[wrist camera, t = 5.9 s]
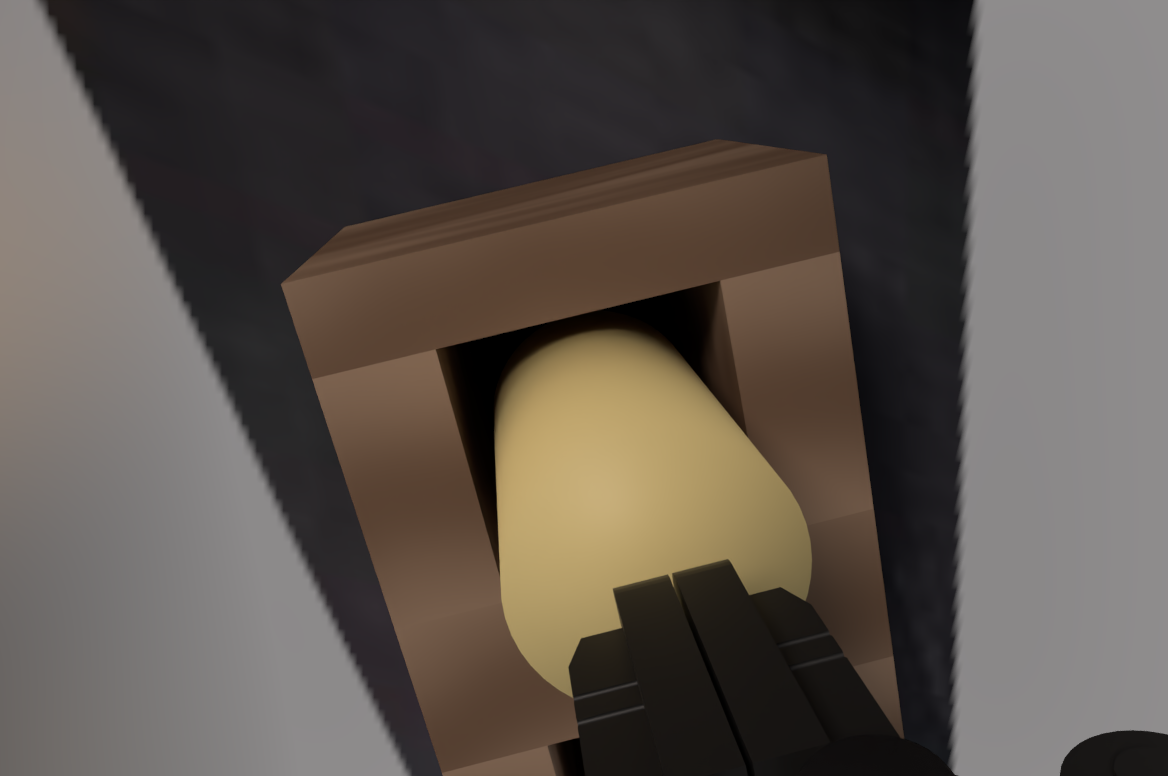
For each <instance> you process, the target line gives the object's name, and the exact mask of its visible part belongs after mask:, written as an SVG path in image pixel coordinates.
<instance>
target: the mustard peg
mask: <svg viewBox="0 0 1168 776" xmlns="http://www.w3.org/2000/svg"><path fill="white" fill-rule="evenodd" d="M493 418H494V442H495V465H496V489H497V512H498V536H499V559H500V582H501V600H502V605H503V610H504V615H505V619H506V622H507V625H508V627H509V630H510V633H511V636H512V637H513V639H514V641H515V643H516V645H517V647H518V648H519V650H520V652H521V653H522V655H523V656H524V657H525V659H526V660H527V661H528V663H529V664H530V665H531V666H532V667H533V668H534V669H535V670H536V671H537V672H538V673H539V674H540V675H541V676H542V677H543V678H544V679H545V680H546V681H547V682H549V683H550V684H551V685H553V686H554V687H555V688H557V689H558V690H560V691H561V692H563V693H565V694H567V695H568V696H570V697H572V698H573V695H572V688H571V682H570V675H569V669H568V667H569V664H570V662H571V660H572V658H573V655H574V653H575V651H576V648H577V646H578V644H579V642H580V639H581V638H584V637H588V636H592V635H596V634H600V633H604V632H608V631H611V630H615V629H619V628H622V627H621V623H620V619H619V615H618V611H617V606H616V602H615V598H614V593H613V588H616V587H620V586H624V585H628V584H632V583H636V582H640V581H644V580H647V579H651V578H655V577H659V576H663V575H667V574H668V575H669V577H670V579H671V582H672V584H673V579H672V573H674V572H678V571H682V570H686V569H690V568H694V567H698V566H702V565H706V564H710V563H714V562H718V561H722V560H726V559H729V560H730V562H731V563H732V565H733V567H734V569H735V571H736V572H737V574H738V576H739V578H740V580H741V581H742V583H743V585H744V587H745V589H746V590H747V592H748V594H749V595H752V594H756V593H759V592H763V591H767V590H771V589H775V588H779V587H781V588H783V589H785V590H787V591H788V592H790V593H792V594H794V595H795V596H797V597H799V598H801V599H803V600H804V601H806V598H807V595H808V590H809V585H810V580H811V569H812V553H811V541H810V537H809V533H808V528H807V524H806V521H805V519H804V516H803V514H802V511H801V509H800V506H799V505H798V503H797V501H796V499H795V498H794V496H793V494H792V493H791V491H790V490H789V488H788V487H787V486H786V485H785V483H784V482H783V481H782V480H781V478H780V477H779V476H778V475H777V473H776V472H775V471H774V470H773V468H772V467H771V466H770V465H769V463H768V462H767V461H766V460H765V458H764V457H763V456H762V455H761V453H760V452H759V451H758V450H757V449H756V447H755V446H754V445H753V444H752V442H751V441H750V440H749V439H748V437H747V436H746V435H745V434H744V432H743V431H742V430H741V429H740V427H739V426H738V425H737V424H736V422H735V421H734V420H733V419H732V418H731V416H730V415H729V414H728V413H727V411H726V410H725V409H724V408H723V406H722V405H721V404H720V403H719V401H718V400H717V399H716V398H715V396H714V395H713V394H712V393H711V391H710V390H709V389H708V388H707V386H706V385H705V384H704V383H703V382H702V380H701V379H700V378H699V377H698V375H697V374H696V373H695V372H694V370H693V369H692V368H691V367H690V365H689V364H688V363H687V362H686V360H685V359H684V358H683V357H682V355H681V354H680V353H679V352H678V350H677V349H676V348H675V347H674V346H673V344H672V343H671V342H670V341H669V340H668V339H667V338H666V337H665V336H664V335H663V334H662V333H660V332H659V331H658V330H656V329H655V328H653V327H652V326H651V325H649V324H647V323H645V322H643V321H641V320H639V319H637V318H634V317H631V316H628V315H625V314H621V313H616V312H609V311H592V312H588V313H584V314H580V315H576V316H572V317H568V318H563V319H559V320H555V321H552V322H549V323H547V324H546V325H544V326H542V327H541V328H539V329H538V330H536V331H535V332H533V333H532V334H531V335H530V336H529V337H527V338H526V339H525V340H524V341H523V342H522V343H521V344H520V345H519V346H518V347H517V348H516V350H515V351H514V352H513V354H512V355H511V356H510V358H509V359H508V361H507V363H506V365H505V366H504V368H503V370H502V372H501V375H500V377H499V380H498V383H497V386H496V391H495V395H494V405H493ZM673 587H674V585H673Z"/></svg>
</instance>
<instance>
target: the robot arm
mask: <svg viewBox="0 0 1168 776" xmlns="http://www.w3.org/2000/svg"><path fill="white" fill-rule="evenodd" d="M672 579H673V584H672V582H671V579H670V577H669V575H668V574H667V575H663V576H659V577H655V578H651V579H647V580H644V581H640V582H636V583H632V584H628V585H624V586H620V587H616V588H613V593H614V598H615V602H616V606H617V611H618V615H619V619H620V623H621V627H622V628H619V629H615V630H611V631H608V632H604V633H600V634H596V635H592V636H588V637H584V638H581V639H580V642H579V644H578V646H577V648H576V651H575V653H574V655H573V658H572V660H571V662H570V664H569V667H568V669H569V675H570V682H571V688H572V695H573V699H574V707H575V714H576V720H577V724H578V733H579V739H580V746H581V752H582V758H583V765H584V771H585V776H957V775H955V774H954V773H953V772H952V771H951V770H950V768H949V767H948V766H947V765H946V764H945V763H944V762H943V761H942V760H941V759H940V758H939V757H938V756H937V755H935V754H934V753H932V752H931V751H930V750H928V749H926V748H925V747H923V746H921V745H919V744H917V743H914V742H911V741H909V740H906V739H903V738H900V736H899V735H898V733H897V732H896V730H895V729H894V727H893V726H892V724H891V723H890V721H889V720H888V718H887V717H886V715H885V714H884V712H883V711H882V709H881V708H880V706H879V705H878V703H877V702H876V700H875V699H874V697H873V696H872V694H871V693H870V691H869V690H868V688H867V687H866V685H865V684H864V682H863V681H862V679H861V678H860V676H859V675H858V673H857V672H856V670H855V669H854V667H853V666H852V664H851V663H850V661H849V660H848V658H847V657H844V654H843V651H842V649H841V648H840V646H839V645H838V643H837V642H836V640H835V639H834V637H833V636H832V635H831V636H830V634H829V630H828V628H827V627H826V625H825V624H824V622H823V621H822V619H821V618H820V616H819V615H818V614H817V612H816V611H815V609H814V608H813V606H812V605H811V604H810V603H808V602H806V601H804V600H803V599H801V598H799V597H797V596H795V595H794V594H792V593H790V592H788V591H787V590H785V589H783V588H781V587H779V588H775V589H771V590H767V591H763V592H759V593H756V594H752V595H749V594H748V592H747V590H746V589H745V587H744V585H743V583H742V581H741V580H740V578H739V576H738V574H737V572H736V571H735V569H734V567H733V565H732V563H731V562H730V560H729V559H726V560H722V561H718V562H714V563H710V564H706V565H702V566H698V567H694V568H690V569H686V570H682V571H678V572H674V573H672ZM673 585H674V587H673ZM1060 776H1168V735H1167V734H1161V733H1155V732H1148V731H1133V730H1132V731H1116V732H1110V733H1104V734H1100V735H1097V736H1094V737H1091V738H1089V739H1087V740H1085V741H1083V742H1081V743H1079V744H1078V745H1077V746H1076V747H1074V748H1073V749H1072V750H1071V751H1070V752H1069V753H1068V755H1067V756H1066V757H1065V759H1064V761H1063V764H1062V766H1061V772H1060Z"/></svg>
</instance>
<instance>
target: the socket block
mask: <svg viewBox="0 0 1168 776" xmlns="http://www.w3.org/2000/svg"><path fill="white" fill-rule="evenodd" d="M281 286H282V289H283V292H284V295H285V298H286V301H287V304H288V307H289V310H290V313H291V316H292V319H293V322H294V325H295V328H296V331H297V334H298V337H299V340H300V343H301V346H302V349H303V352H304V355H305V358H306V361H307V365H308V368H309V371H310V374H311V377H312V380H313V383H314V386H315V389H316V392H317V395H318V398H319V401H320V404H321V407H322V410H323V413H324V416H325V419H326V422H327V425H328V428H329V431H330V434H331V437H332V440H333V443H334V446H335V449H336V453H337V456H338V459H339V462H340V465H341V468H342V471H343V474H344V477H345V480H346V483H347V486H348V489H349V492H350V495H351V498H352V501H353V504H354V507H355V510H356V513H357V516H358V519H359V522H360V525H361V528H362V531H363V534H364V537H365V541H366V544H367V547H368V550H369V553H370V556H371V559H372V562H373V565H374V568H375V571H376V574H377V577H378V580H379V583H380V586H381V589H382V592H383V595H384V598H385V601H386V604H387V607H388V610H389V613H390V616H391V619H392V622H393V625H394V628H395V632H396V635H397V638H398V641H399V644H400V647H401V650H402V653H403V656H404V659H405V662H406V665H407V668H408V671H409V674H410V677H411V680H412V683H413V686H414V689H415V692H416V695H417V698H418V701H419V704H420V707H421V710H422V713H423V716H424V720H425V723H426V726H427V729H428V732H429V735H430V738H431V741H432V744H433V747H434V750H435V753H436V756H437V759H438V762H439V765H440V768H441V771H442V774H443V776H585V771H584V765H583V758H582V752H581V746H580V739H579V733H578V724H577V720H576V714H575V707H574V699H573V698H572V697H570V696H568V695H567V694H565V693H563V692H561V691H560V690H558V689H557V688H555V687H554V686H553V685H551V684H550V683H549V682H547V681H546V680H545V679H544V678H543V677H542V676H541V675H540V674H539V673H538V672H537V671H536V670H535V669H534V668H533V667H532V666H531V665H530V664H529V663H528V661H527V660H526V659H525V657H524V656H523V655H522V653H521V652H520V650H519V648H518V647H517V645H516V643H515V641H514V639H513V637H512V636H511V633H510V630H509V627H508V625H507V622H506V619H505V615H504V610H503V605H502V600H501V582H500V559H499V536H498V512H497V489H496V465H495V442H494V437H493V433H492V429H491V426H490V422H489V418H488V414H487V411H486V407H485V403H484V400H483V396H482V392H481V389H480V385H479V381H478V377H477V374H476V370H475V366H474V363H473V359H472V355H471V351H470V348H469V344H468V341H472V340H476V339H481V338H485V337H489V336H493V335H497V334H501V333H505V332H510V331H514V330H518V329H522V328H526V327H530V326H534V325H539V324H543V323H547V322H551V321H555V320H559V319H563V318H568V317H572V316H576V315H580V314H584V313H588V312H592V311H597V310H601V309H605V308H609V307H613V306H617V305H621V304H625V303H630V302H634V301H638V300H642V299H646V298H650V297H654V296H659V295H660V299H661V304H662V309H663V314H664V319H665V324H666V329H667V334H668V339H669V341H670V342H671V343H672V344H673V346H674V347H675V348H676V349H677V350H678V352H679V353H680V354H681V355H682V357H683V358H684V359H685V360H686V362H687V363H688V364H689V365H690V367H691V368H692V369H693V370H694V372H695V373H696V374H697V375H698V377H699V378H700V379H701V380H702V382H703V383H704V384H705V385H706V386H707V388H708V389H709V390H710V391H711V393H712V394H713V395H714V396H715V398H716V399H717V400H718V401H719V403H720V404H721V405H722V406H723V408H724V409H725V410H726V411H727V413H728V414H729V415H730V416H731V418H732V419H733V420H734V421H735V422H736V424H737V425H738V426H739V427H740V429H741V430H742V431H743V432H744V434H745V435H746V436H747V437H748V439H749V440H750V441H751V442H752V444H753V445H754V446H755V447H756V449H757V450H758V451H759V452H760V453H761V455H762V456H763V457H764V458H765V460H766V461H767V462H768V463H769V465H770V466H771V467H772V468H773V470H774V471H775V472H776V473H777V475H778V476H779V477H780V478H781V480H782V481H783V482H784V483H785V485H786V486H787V487H788V488H789V490H790V491H791V493H792V494H793V496H794V498H795V499H796V501H797V503H798V505H799V506H800V509H801V511H802V514H803V516H804V519H805V521H806V524H807V528H808V533H809V537H810V541H811V553H812V569H811V580H810V585H809V590H808V595H807V598H806V602H808V603H810V604H811V605H812V606H813V608H814V609H815V611H816V612H817V614H818V615H819V616H820V618H821V619H822V621H823V622H824V624H825V625H826V627H827V628H828V630H829V634H830V636H831V635H832V636H833V637H834V639H835V640H836V642H837V643H838V645H839V646H840V648H841V649H842V651H843V654H844V657H847V658H848V660H849V661H850V663H851V664H852V666H853V667H854V669H855V670H856V672H857V673H858V675H859V676H860V678H861V679H862V681H863V682H864V684H865V685H866V687H867V688H868V690H869V691H870V693H871V694H872V696H873V697H874V699H875V700H876V702H877V703H878V705H879V706H880V708H881V709H882V711H883V712H884V714H885V715H886V717H887V718H888V720H889V721H890V723H891V724H892V726H893V727H894V729H895V730H896V732H897V733H898V735H899V736H900V738H903V739H904V733H903V726H902V718H901V711H900V703H899V696H898V688H897V681H896V673H895V666H894V658H893V651H892V643H891V635H890V628H889V620H888V613H887V605H886V598H885V590H884V583H883V575H882V568H881V560H880V553H879V545H878V538H877V530H876V522H875V515H874V507H873V500H872V492H871V485H870V477H869V470H868V462H867V455H866V447H865V440H864V432H863V424H862V417H861V409H860V402H859V394H858V387H857V379H856V372H855V364H854V357H853V349H852V342H851V334H850V327H849V319H848V311H847V304H846V296H845V289H844V281H843V274H842V266H841V259H840V251H839V244H838V236H837V229H836V221H835V214H834V206H833V198H832V191H831V183H830V176H829V168H828V161H827V155H826V154H819V153H812V152H805V151H798V150H791V149H783V148H776V147H769V146H762V145H755V144H748V143H741V142H734V141H727V140H720V139H716V140H712V141H708V142H704V143H699V144H695V145H691V146H687V147H682V148H678V149H674V150H670V151H665V152H661V153H657V154H653V155H648V156H644V157H640V158H636V159H631V160H627V161H623V162H619V163H614V164H610V165H606V166H602V167H597V168H593V169H589V170H585V171H580V172H576V173H572V174H568V175H564V176H559V177H555V178H551V179H547V180H542V181H538V182H534V183H530V184H525V185H521V186H517V187H513V188H508V189H504V190H500V191H496V192H491V193H487V194H483V195H479V196H474V197H470V198H466V199H462V200H457V201H453V202H449V203H445V204H440V205H436V206H432V207H428V208H424V209H419V210H415V211H411V212H407V213H402V214H398V215H394V216H390V217H385V218H381V219H377V220H373V221H368V222H364V223H360V224H356V225H351V226H347V227H344V228H343V229H342V230H341V231H340V232H339V233H338V234H336V235H335V236H334V237H333V238H332V239H331V240H330V241H329V242H327V243H326V244H325V245H324V246H323V247H322V248H321V249H320V250H319V251H317V252H316V253H315V254H314V255H313V256H312V257H311V258H310V259H309V260H307V261H306V262H305V263H304V264H303V265H302V266H301V267H300V268H298V269H297V270H296V271H295V272H294V273H293V274H292V275H291V276H290V277H288V278H287V279H286V280H285V281H284V282H283V283H282V284H281Z"/></svg>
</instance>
